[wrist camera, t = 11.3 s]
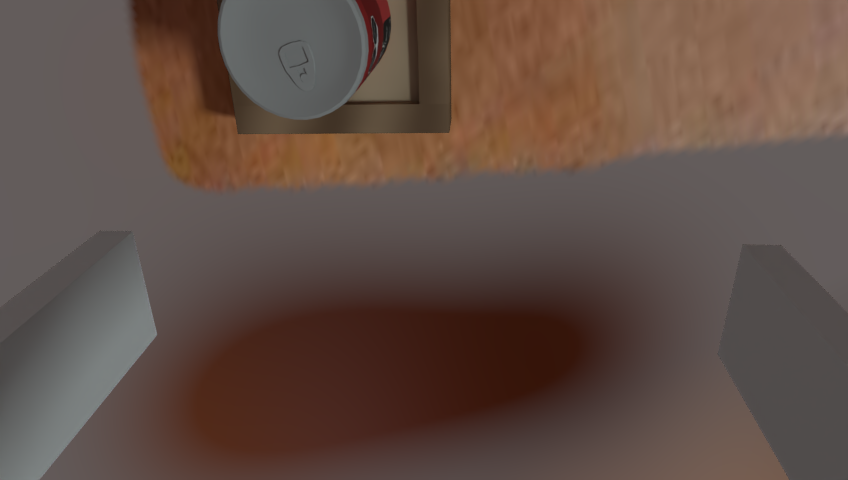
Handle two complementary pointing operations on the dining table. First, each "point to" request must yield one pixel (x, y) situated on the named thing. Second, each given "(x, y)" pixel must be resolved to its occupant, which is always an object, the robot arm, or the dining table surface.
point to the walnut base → (382, 83)
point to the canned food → (302, 51)
